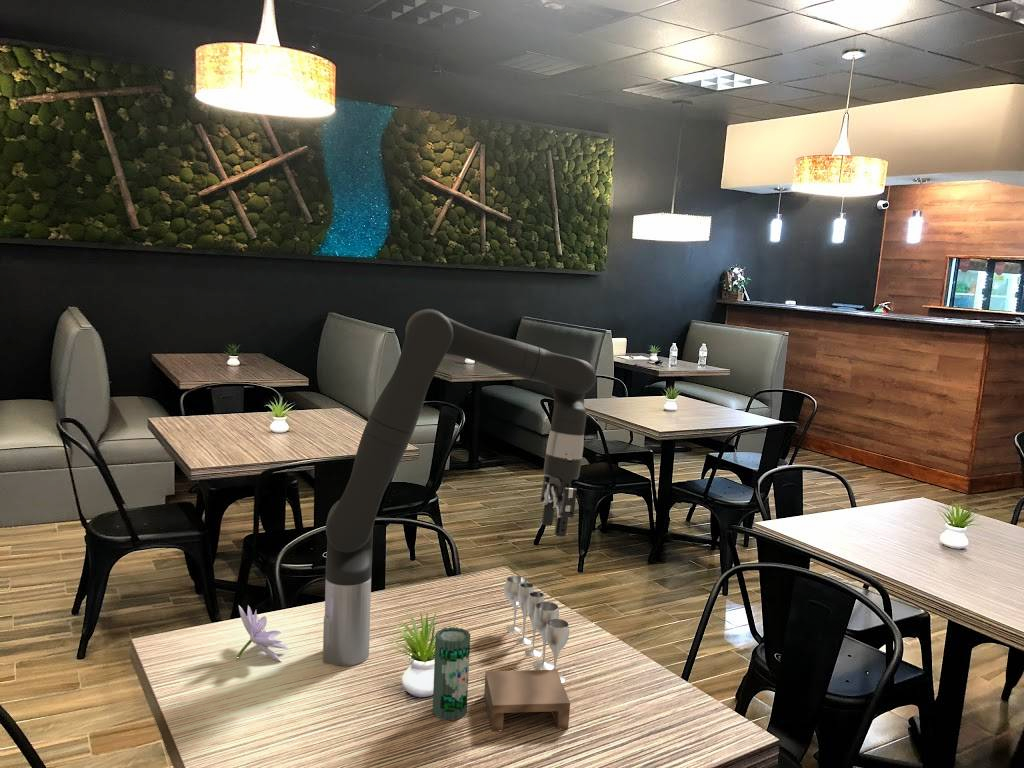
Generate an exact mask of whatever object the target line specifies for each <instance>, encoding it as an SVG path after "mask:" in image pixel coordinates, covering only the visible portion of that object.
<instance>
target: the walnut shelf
mask: <svg viewBox="0 0 1024 768" xmlns="http://www.w3.org/2000/svg"><path fill="white" fill-rule="evenodd" d="M559 674H560V673H559V672H558V669H556V670H554V669H552V670H537V669H531V670H530V669H528V670H527V669H525V670H524V669H523V670H522V669H521V670H487V671H485V674H484V692H483V693H484V694H483V697H484V701H485V705H486V710H487V716H488V721H489V725H491V726H490V730H491V732H500V731H499V730H503V731H504V715H505V714H511V713H535V712H536V713H539V712H541V713H542V712H551V711H552V712H551V714H552V716H553V721H554V723H555V725H557V726H556V729H557V728H558V729H557V730H566V729H565V728H568V729H569V726H570V724H569V723H570V710H571V702H570V699H569V696H568V694H567V692H566V689H565V686H564V684H563V683H562V681H561V679H560V676H559ZM560 728H562V729H560Z"/></svg>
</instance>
